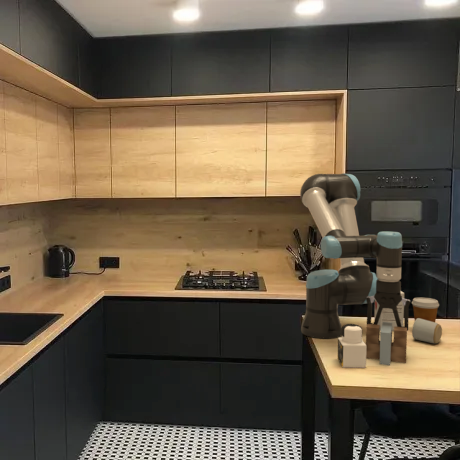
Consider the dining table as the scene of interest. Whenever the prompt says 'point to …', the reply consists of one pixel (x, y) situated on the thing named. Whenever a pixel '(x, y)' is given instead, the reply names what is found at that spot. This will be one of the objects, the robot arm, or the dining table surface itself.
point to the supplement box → (390, 314)
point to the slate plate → (385, 343)
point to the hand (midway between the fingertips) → (386, 349)
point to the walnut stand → (396, 346)
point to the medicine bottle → (352, 347)
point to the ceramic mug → (426, 331)
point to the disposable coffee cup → (425, 308)
